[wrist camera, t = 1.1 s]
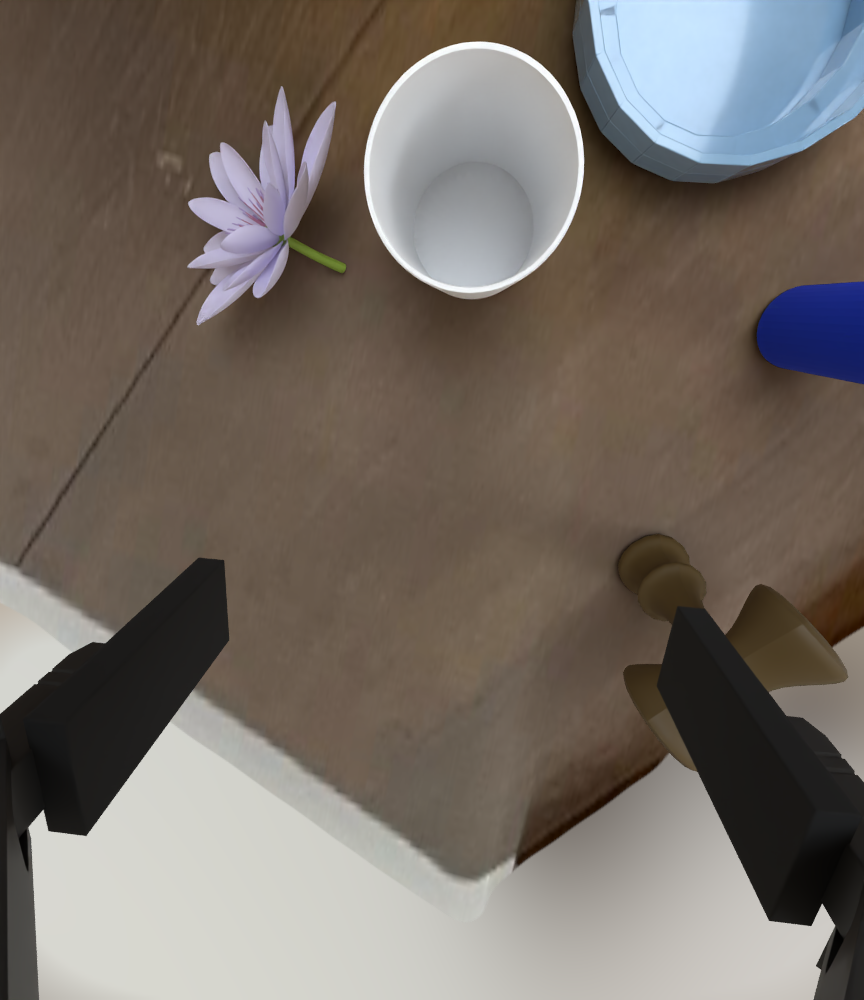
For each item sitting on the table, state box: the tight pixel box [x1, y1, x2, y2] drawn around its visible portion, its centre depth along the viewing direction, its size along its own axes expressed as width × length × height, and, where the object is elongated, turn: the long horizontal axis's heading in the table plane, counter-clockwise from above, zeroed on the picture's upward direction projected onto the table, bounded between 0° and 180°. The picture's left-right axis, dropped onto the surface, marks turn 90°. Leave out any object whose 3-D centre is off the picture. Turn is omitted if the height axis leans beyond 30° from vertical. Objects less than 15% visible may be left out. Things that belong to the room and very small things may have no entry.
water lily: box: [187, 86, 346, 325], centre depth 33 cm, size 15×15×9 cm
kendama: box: [618, 534, 848, 772], centre depth 33 cm, size 6×10×20 cm, turn 134°
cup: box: [364, 42, 584, 299], centre depth 28 cm, size 8×8×16 cm
